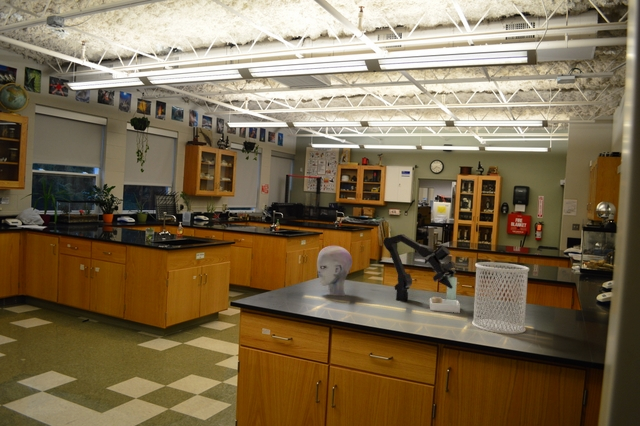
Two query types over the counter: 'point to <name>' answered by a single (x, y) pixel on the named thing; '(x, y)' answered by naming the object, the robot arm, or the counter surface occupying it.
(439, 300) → the cube
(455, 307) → the tote
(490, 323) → the wastebasket
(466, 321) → the counter surface
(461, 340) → the counter surface
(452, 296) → the canister
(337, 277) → the sculpture
